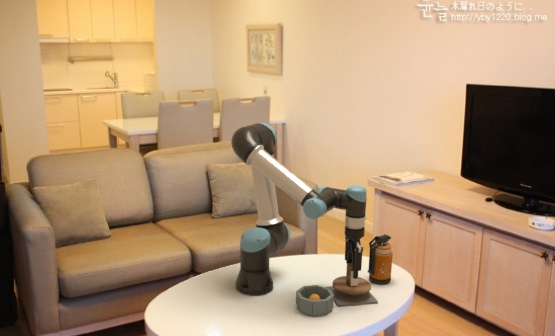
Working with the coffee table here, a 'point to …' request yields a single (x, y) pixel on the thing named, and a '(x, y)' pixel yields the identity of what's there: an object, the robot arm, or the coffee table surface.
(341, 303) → the rubber mat
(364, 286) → the walnut lid
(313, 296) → the orange ball
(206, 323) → the coffee table surface
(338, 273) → the coffee table surface
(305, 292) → the slate bowl
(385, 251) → the canister
